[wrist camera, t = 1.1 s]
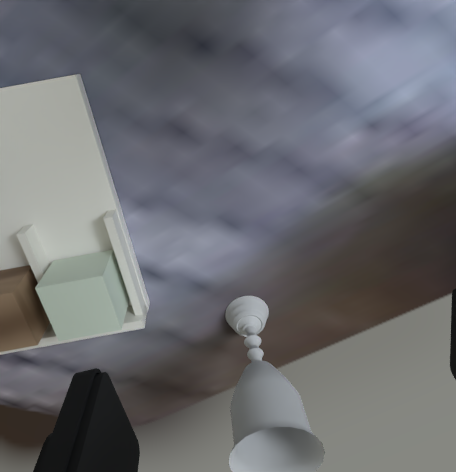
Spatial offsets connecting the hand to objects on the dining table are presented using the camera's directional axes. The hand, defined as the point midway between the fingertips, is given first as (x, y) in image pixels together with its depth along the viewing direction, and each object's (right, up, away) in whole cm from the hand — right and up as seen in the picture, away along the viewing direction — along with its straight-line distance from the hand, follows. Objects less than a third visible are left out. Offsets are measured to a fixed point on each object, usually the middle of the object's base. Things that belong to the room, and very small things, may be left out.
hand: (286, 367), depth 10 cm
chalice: (+1, -5, +35) cm, 36 cm away
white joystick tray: (-21, +5, +28) cm, 35 cm away
